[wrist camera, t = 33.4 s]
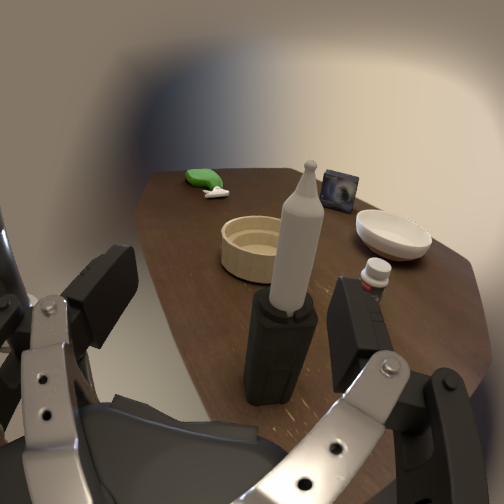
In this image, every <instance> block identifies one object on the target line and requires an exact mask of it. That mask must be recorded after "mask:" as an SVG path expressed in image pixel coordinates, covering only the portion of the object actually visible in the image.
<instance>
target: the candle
mask: <svg viewBox="0 0 504 504" xmlns="http://www.w3.org/2000/svg"><path fill="white" fill-rule="evenodd" d="M304 167H305V171H304V173H303V175H302V178H301V180H300V182H299V184H298V186H297V188H296V190H295V192H294V193H293V194H292V195H291V196H290V197H289V198H288V199H287V200H286V201H285V203H284V205H283V208H282V215H281V223H280V229H279V236H278V243H277V250H276V257H275V263H274V270H273V276H272V283H271V285H270V286H268V287H266V288H263V289H259V290H257V291H256V292H255V293H254V295H253V303H252V312H251V320H250V329H249V337H248V345H247V354H246V362H245V370H244V385H245V393H246V399H247V401H248V402H249V403H250V404H252V405H255V406H259V405H260V404H270V403H281V404H284V403H286V402H288V401H289V400H290V398H291V395H292V393H293V390H294V388H295V385H296V382H297V380H298V377H299V374H300V372H301V369H302V366H303V363H304V361H305V358H306V355H307V352H308V349H309V346H310V343H311V341H312V338H313V335H314V332H315V329H316V325H317V322H318V316H317V313H316V311H315V309H314V306H313V300H312V298H311V296H310V295H309V294H308V293H307V288H308V284H309V280H310V276H311V271H312V267H313V263H314V258H315V254H316V250H317V245H318V240H319V236H320V231H321V226H322V222H323V217H324V209H323V206H322V204H321V202H320V200H319V197H318V193H317V185H316V178H315V169H316V168H317V164H316V163H315V161H314V160H308V161H306V162H305V164H304Z"/></svg>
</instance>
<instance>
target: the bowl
mask: <svg viewBox="0 0 504 504" xmlns="http://www.w3.org/2000/svg"><path fill="white" fill-rule="evenodd" d="M356 228H357V233H358V235H359V236H360V238H361V239H362V241H363V242H364V244H366V245H367V246H368V247H369V248H370V249H371V250H372V251H373V252H374V253H376V254H377V255H379V256H381V257H383V258H386V259H389V260H393V261H410V260H414V259H417V258H420V257H422V256H423V255H424V254H425V253H426V252H427V251H428V249H429V247H430V245H431V243H432V238H431V236H430V235H429V233H428V232H427V231H426V230H425V229H424V228H422V227H421V226H420V225H418V224H416V223H415V222H413V221H411V220H409V219H407V218H404V217H402V216H399V215H397V214H393V213H390V212H386V211H380V210H364V211H361V212H359V213H358V214H357V219H356Z"/></svg>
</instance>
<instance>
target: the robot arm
mask: <svg viewBox="0 0 504 504" xmlns="http://www.w3.org/2000/svg"><path fill="white" fill-rule="evenodd" d="M138 281H139V280H138V273H137V266H136V260H135V253H134V249H133V247H132V246H125V245H119V244H115V245H113V246H112V247H111V248H110V249H109V250H108V251H107V252H106V253H105V254H102V255H100V256H99V257H97V258H95V259H93V260H92V261H91V262H90V263H89V264H88V265H87V266H86V268H85V269H84V270H83V271H82V272H81V273H80V275H78V276H77V277H76V278H75V279H74V280H73V281H72V282H71V283H70V285H69V286H68V287H67V288H66V289H65V290H64V291H63V292H62V294H61V295H60V296H59V295H49V296H46V297H44V298H42V299H41V300H39V301H38V302H37V303H36V304H35V306H32V303H31V301H30V298H29V297H28V295H27V292H26V290H25V287H24V285H23V282H22V279H21V277H20V274H19V271H18V268H17V265H16V262H15V259H14V256H13V253H12V250H11V246H10V243H9V240H8V236H7V232H6V228H5V225H4V221H3V217H2V212H1V208H0V348H1V347H2V345H3V344H4V342H5V341H7V343H8V344H9V346H10V348H11V349H12V350H11V352H10V353H9V355H8V357H7V358H6V360H5V361H4V363H3V364H2V366H1V367H0V504H332V503H333V502H334V501H335V499H336V498H337V497H338V496H339V495H340V493H341V492H342V491H343V490H344V488H345V487H346V486H347V485H348V483H349V482H350V481H351V479H352V478H353V477H354V475H355V474H356V473H357V471H358V470H359V469H360V467H361V466H362V464H363V463H364V462H365V460H366V459H367V457H368V456H369V454H370V453H371V451H372V450H373V448H374V447H375V445H376V444H377V442H378V440H379V439H380V437H381V436H382V434H383V432H384V430H385V428H388V429H391V430H393V435H394V446H395V460H396V480H397V504H489V496H488V485H487V478H486V471H485V465H484V459H483V453H482V448H481V443H480V439H479V434H478V430H477V426H476V422H475V418H474V414H473V410H472V407H471V403H470V400H469V397H468V393H467V390H466V387H465V384H464V381H463V379H462V378H461V376H460V375H459V374H458V373H457V372H455V371H454V370H452V369H450V368H439V369H437V370H436V371H435V372H434V373H433V375H432V376H428V375H424V374H420V373H417V372H414V371H411V370H410V368H409V365H408V363H407V361H406V360H405V359H404V358H403V357H402V356H401V355H399V354H397V353H395V352H394V351H393V347H392V344H391V341H390V338H389V334H388V331H387V328H386V325H385V323H384V319H383V316H382V315H381V310H380V307H379V304H378V302H377V301H376V300H375V299H374V297H373V296H372V295H371V294H370V293H364V292H363V288H362V285H361V282H360V280H359V279H357V278H349V277H341V276H340V277H339V278H338V280H337V283H336V286H335V289H334V292H333V295H332V299H331V302H330V305H329V308H328V312H327V330H328V338H329V347H330V357H331V367H332V378H333V390H334V393H344V395H343V396H342V397H340V398H339V399H338V400H337V401H336V402H335V404H334V405H333V406H332V407H331V408H330V410H329V411H328V412H327V413H326V414H325V415H324V417H323V418H322V419H321V420H320V421H319V422H318V423H317V424H316V426H315V427H314V428H313V429H312V430H311V431H310V432H309V433H308V434H307V435H306V437H305V438H304V439H303V440H302V441H301V442H300V443H299V444H298V445H297V446H296V447H295V448H294V449H293V450H292V451H291V452H290V453H289V454H288V453H287V452H286V451H285V450H284V449H282V448H281V447H280V446H278V445H276V444H275V443H273V442H271V441H269V440H267V439H265V438H263V437H260V436H257V433H258V427H257V426H249V425H241V424H235V423H228V422H222V421H212V422H181V421H178V420H175V419H173V418H172V417H170V416H168V415H166V414H164V413H162V412H160V411H158V410H157V409H155V408H153V407H151V406H149V405H148V404H145V403H142V402H138V401H135V400H132V399H129V398H126V397H123V396H120V395H117V394H115V397H114V398H113V401H112V403H111V402H106V403H103V402H102V403H100V402H99V400H98V397H97V395H96V391H95V387H94V382H93V378H92V373H91V368H90V363H89V357H88V353H87V351H86V350H87V348H88V347H89V346H92V347H95V348H98V349H101V347H102V345H103V343H104V342H105V340H106V338H107V337H108V335H109V334H110V332H111V330H112V329H113V327H114V326H115V324H116V323H117V321H118V319H119V318H120V316H121V315H122V313H123V312H124V310H125V308H126V307H127V305H128V304H129V302H130V301H131V299H132V298H133V296H134V295H135V293H136V291H137V288H138ZM21 398H22V414H23V424H24V433H25V436H22V437H20V438H18V439H16V440H14V441H12V442H10V443H8V442H7V440H6V439H4V438H5V437H4V432H5V430H6V428H7V426H8V424H9V421H10V420H11V418H12V415H13V413H14V411H15V409H16V407H17V405H18V403H19V401H20V399H21Z"/></svg>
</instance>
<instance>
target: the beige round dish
mask: <svg viewBox="0 0 504 504" xmlns="http://www.w3.org/2000/svg"><path fill="white" fill-rule="evenodd" d="M280 223H281V219H277V218H273V217H266V216H246V217H239V218H236V219H233V220H230V221H229V222H228V223H226V224H225V225H224V226H223V228H222V230H221V249H220V258H221V263H222V265H223V266H224V267H225V268H226V269H227V271H229V272H230V273H232V274H234V275H235V276H237V277H239V278H242V279H245V280H248V281H251V282H258V283H272V276H273V270H274V263H275V257H276V250H277V243H278V236H279V229H280Z"/></svg>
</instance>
